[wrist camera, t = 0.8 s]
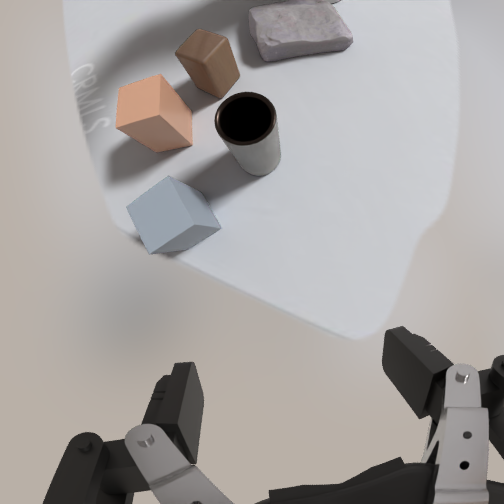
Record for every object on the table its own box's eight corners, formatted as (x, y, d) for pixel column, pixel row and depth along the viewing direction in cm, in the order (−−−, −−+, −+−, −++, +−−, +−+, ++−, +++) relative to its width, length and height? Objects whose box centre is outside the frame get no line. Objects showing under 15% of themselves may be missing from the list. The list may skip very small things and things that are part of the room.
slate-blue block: (168, 214, 30) (125, 207, 22) (201, 192, 30) (168, 175, 21) (187, 249, 30) (149, 254, 21) (222, 228, 30) (194, 224, 21)
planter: (284, 172, 29) (281, 139, 18) (241, 179, 29) (218, 151, 19) (276, 133, 28) (270, 86, 18) (235, 140, 29) (211, 98, 19)
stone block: (245, 28, 30) (263, 69, 28) (239, 4, 25) (258, 40, 23) (324, 17, 29) (354, 55, 27) (325, -7, 24) (359, 28, 22)
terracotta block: (156, 119, 30) (119, 87, 21) (191, 110, 30) (160, 73, 21) (156, 152, 30) (115, 127, 21) (192, 145, 30) (159, 114, 21)
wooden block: (196, 88, 29) (172, 53, 21) (215, 65, 29) (197, 26, 21) (222, 100, 29) (202, 64, 21) (242, 76, 29) (228, 36, 21)
